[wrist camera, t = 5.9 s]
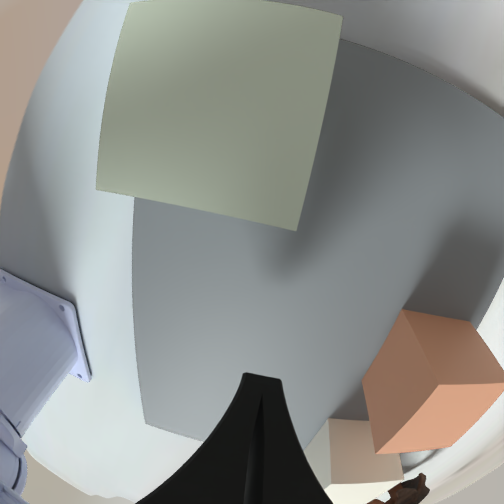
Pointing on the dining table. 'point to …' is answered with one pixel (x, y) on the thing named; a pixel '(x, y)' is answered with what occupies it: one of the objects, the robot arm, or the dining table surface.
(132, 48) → the sage cube
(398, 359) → the terracotta cube
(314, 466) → the cream cube
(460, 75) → the dining table surface
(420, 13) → the dining table surface
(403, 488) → the dark brown arched piece
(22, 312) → the robot arm
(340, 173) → the board
